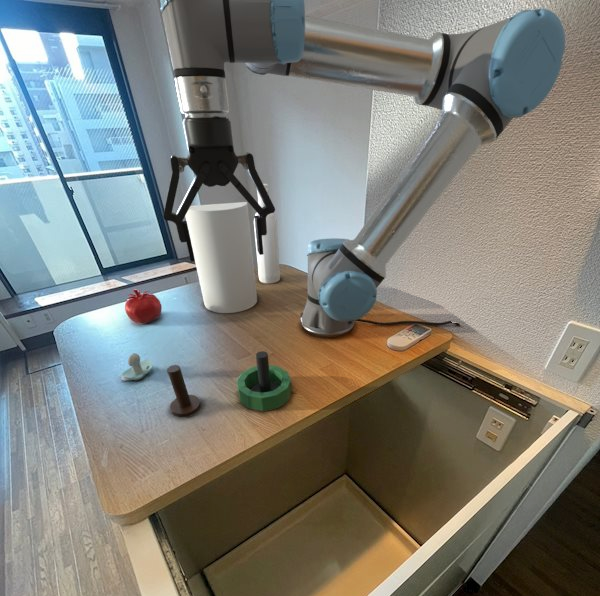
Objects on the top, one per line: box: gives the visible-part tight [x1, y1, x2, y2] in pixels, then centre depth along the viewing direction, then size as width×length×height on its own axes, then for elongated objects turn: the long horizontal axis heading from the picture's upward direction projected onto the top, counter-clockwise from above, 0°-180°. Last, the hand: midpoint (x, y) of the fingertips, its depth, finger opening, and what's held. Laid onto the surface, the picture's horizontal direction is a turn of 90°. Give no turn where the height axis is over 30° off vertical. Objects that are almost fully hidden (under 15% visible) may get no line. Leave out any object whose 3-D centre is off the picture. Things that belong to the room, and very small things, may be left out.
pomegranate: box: [124, 288, 163, 325], centre depth 96 cm, size 10×10×9 cm
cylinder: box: [185, 201, 258, 314], centre depth 98 cm, size 17×17×28 cm
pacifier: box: [121, 352, 154, 382], centre depth 75 cm, size 7×6×6 cm
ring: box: [236, 364, 292, 412], centre depth 70 cm, size 11×11×4 cm
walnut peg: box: [166, 364, 202, 418], centre depth 65 cm, size 6×6×10 cm
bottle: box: [253, 183, 281, 284], centre depth 112 cm, size 8×8×30 cm
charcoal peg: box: [251, 350, 280, 393], centre depth 68 cm, size 6×6×10 cm
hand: (227, 256), depth 66 cm, fingers open, 13 cm apart
